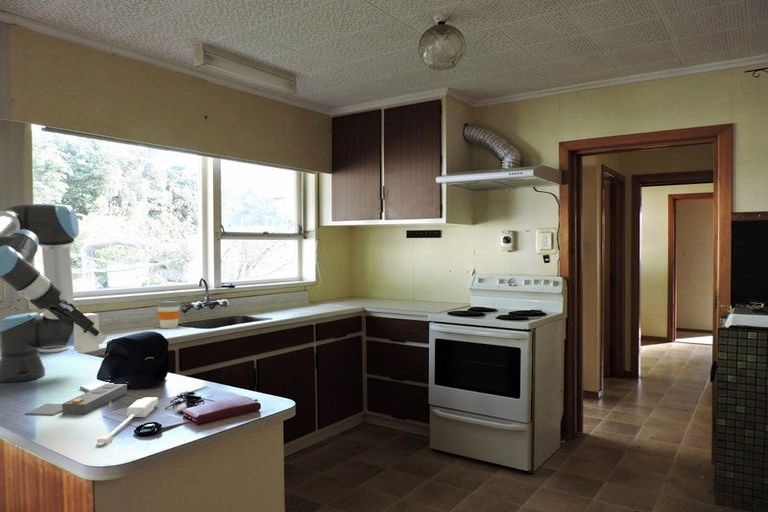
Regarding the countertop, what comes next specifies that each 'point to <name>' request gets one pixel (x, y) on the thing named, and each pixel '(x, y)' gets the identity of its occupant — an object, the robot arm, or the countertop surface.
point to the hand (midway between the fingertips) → (98, 339)
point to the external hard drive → (92, 386)
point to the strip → (94, 399)
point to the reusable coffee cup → (168, 313)
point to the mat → (46, 410)
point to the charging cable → (131, 416)
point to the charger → (86, 336)
